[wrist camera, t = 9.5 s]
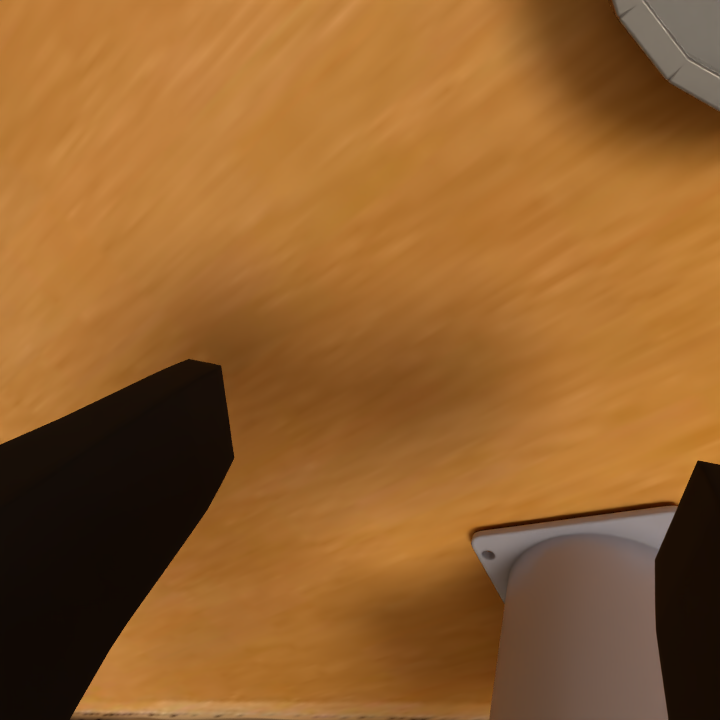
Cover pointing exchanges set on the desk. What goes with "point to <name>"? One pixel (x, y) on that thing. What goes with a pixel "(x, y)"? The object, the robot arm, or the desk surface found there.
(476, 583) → the desk surface
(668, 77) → the pot
